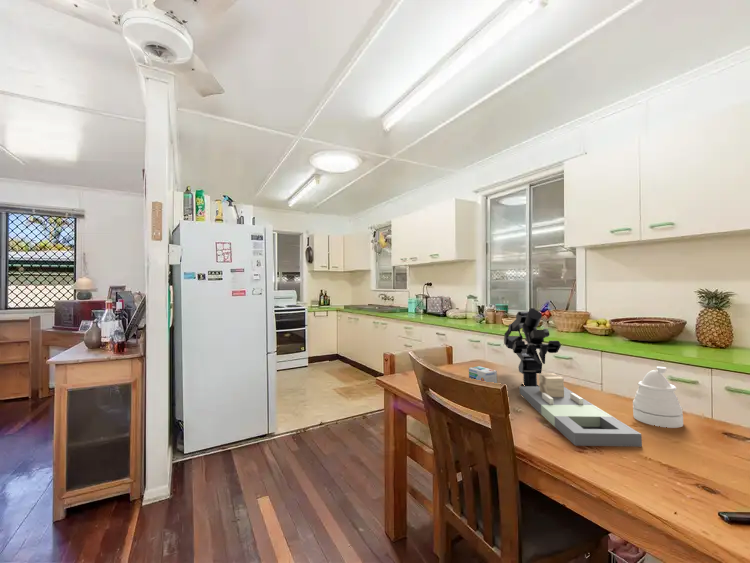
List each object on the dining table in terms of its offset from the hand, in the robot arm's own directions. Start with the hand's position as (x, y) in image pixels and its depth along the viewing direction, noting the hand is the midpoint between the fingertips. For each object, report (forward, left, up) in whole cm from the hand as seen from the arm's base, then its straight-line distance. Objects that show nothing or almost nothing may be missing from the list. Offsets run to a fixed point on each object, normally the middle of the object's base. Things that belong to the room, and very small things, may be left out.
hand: (542, 363), depth 140 cm
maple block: (+8, 0, -10) cm, 13 cm away
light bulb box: (-3, -24, -14) cm, 28 cm away
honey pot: (+25, +27, -14) cm, 39 cm away
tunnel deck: (+22, 0, -14) cm, 26 cm away
